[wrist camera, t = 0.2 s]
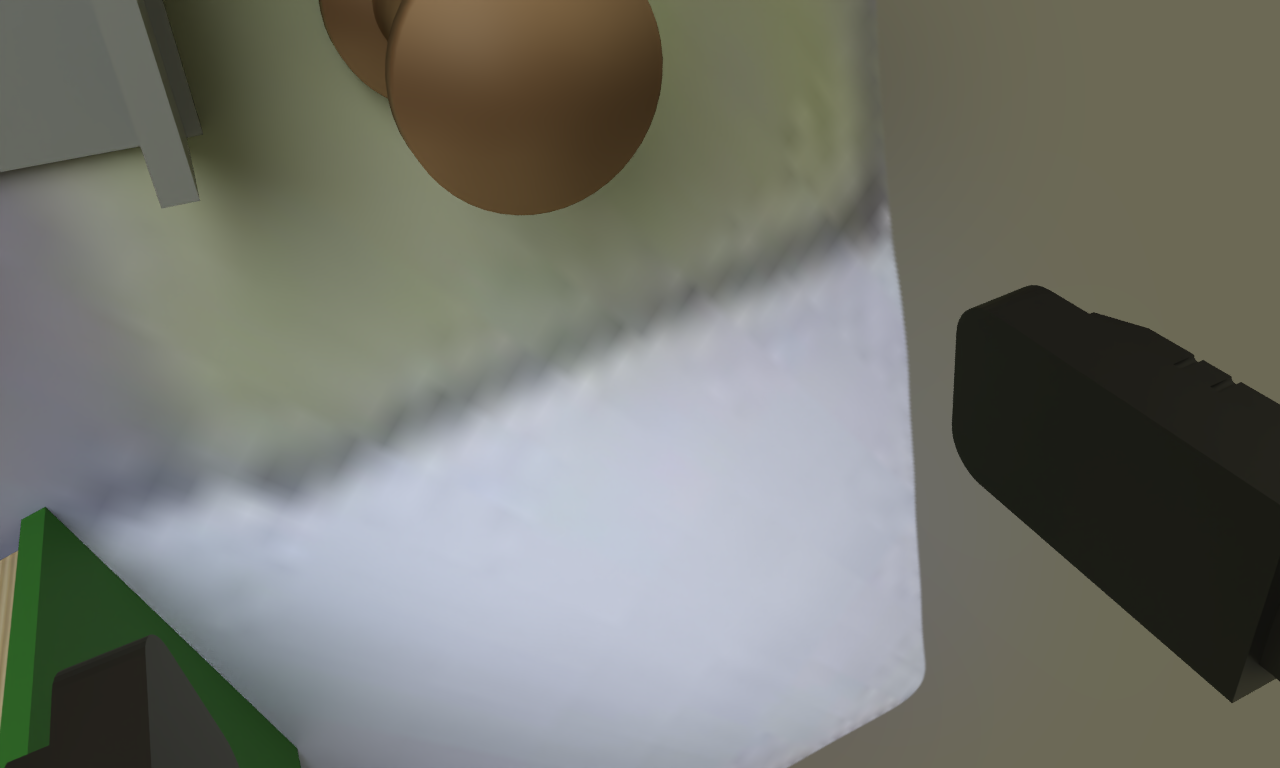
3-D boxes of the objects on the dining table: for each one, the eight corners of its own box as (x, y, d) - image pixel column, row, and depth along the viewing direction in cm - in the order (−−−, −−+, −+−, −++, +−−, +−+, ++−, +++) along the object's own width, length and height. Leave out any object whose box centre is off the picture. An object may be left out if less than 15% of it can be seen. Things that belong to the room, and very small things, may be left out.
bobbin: (293, -108, 31) (366, -48, 23) (514, -134, 33) (656, -89, 25) (344, 117, 35) (422, 241, 26) (538, 81, 37) (668, 184, 29)
